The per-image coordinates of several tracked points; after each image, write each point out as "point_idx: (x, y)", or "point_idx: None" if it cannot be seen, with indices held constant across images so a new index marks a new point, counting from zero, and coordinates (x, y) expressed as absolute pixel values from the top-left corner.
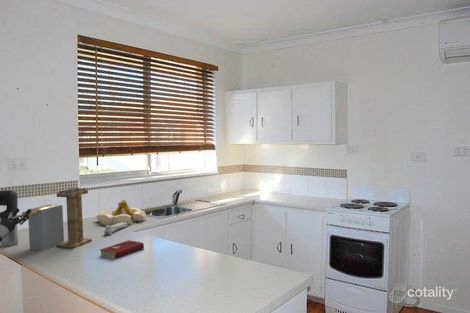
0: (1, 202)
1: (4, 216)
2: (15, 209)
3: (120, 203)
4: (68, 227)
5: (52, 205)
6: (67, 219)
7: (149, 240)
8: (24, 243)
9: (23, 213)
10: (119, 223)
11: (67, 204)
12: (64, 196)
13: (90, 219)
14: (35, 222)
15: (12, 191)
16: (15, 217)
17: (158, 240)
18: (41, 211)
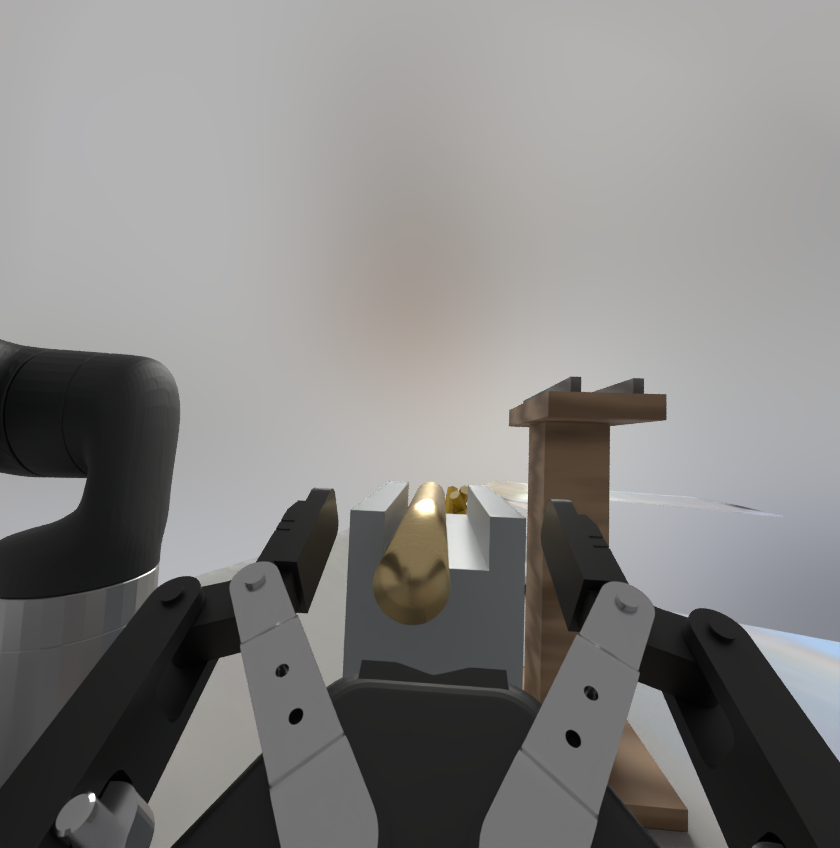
0: (32, 442)
1: (86, 707)
2: (307, 507)
3: (460, 495)
4: (548, 631)
5: (433, 486)
6: (544, 578)
7: (803, 650)
8: (197, 772)
9: (405, 567)
10: (525, 562)
11: (551, 480)
12: (623, 413)
13: (345, 543)
14: (436, 647)
15: (156, 363)
16: (576, 786)
17: (832, 647)
18: (525, 531)
